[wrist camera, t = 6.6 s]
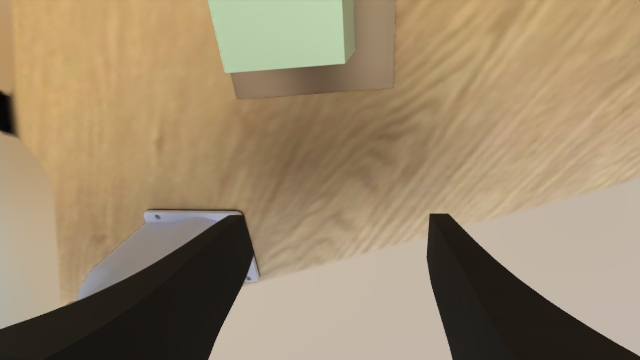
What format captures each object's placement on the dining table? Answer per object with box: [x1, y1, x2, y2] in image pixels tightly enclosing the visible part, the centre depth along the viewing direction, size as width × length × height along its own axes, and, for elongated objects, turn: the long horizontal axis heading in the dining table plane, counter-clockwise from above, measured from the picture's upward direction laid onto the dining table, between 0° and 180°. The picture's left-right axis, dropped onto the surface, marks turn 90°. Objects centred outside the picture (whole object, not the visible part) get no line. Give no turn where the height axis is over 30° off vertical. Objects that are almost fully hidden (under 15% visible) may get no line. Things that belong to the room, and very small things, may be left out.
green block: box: [208, 0, 355, 73], centre depth 11 cm, size 4×4×6 cm
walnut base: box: [231, 0, 395, 100], centre depth 15 cm, size 9×9×3 cm
